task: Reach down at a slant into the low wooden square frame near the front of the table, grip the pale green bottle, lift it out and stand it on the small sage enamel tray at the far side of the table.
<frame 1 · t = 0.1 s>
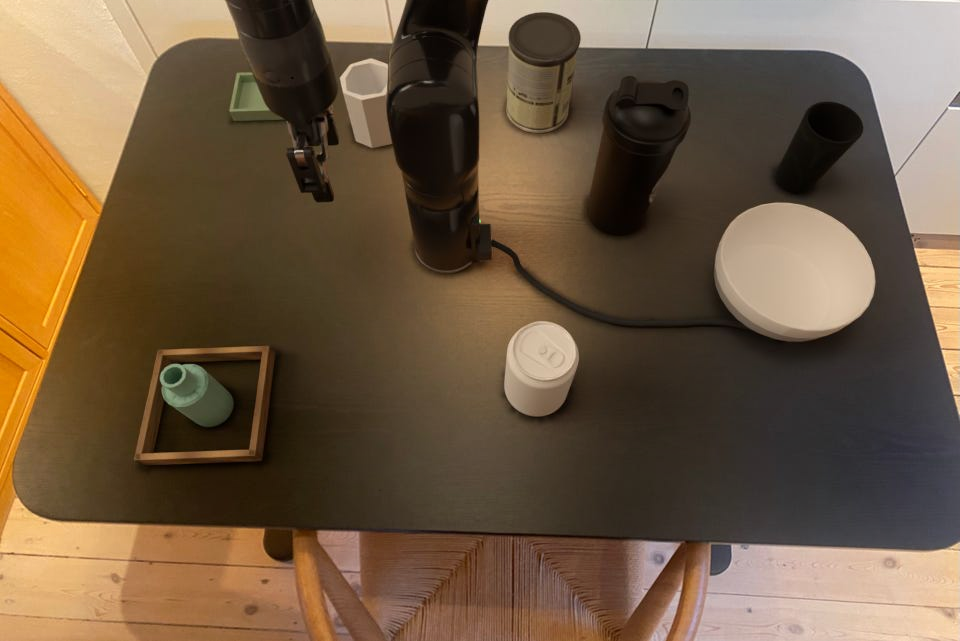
hand: (328, 170, 71), 17 cm above the table, tool pointing down, fingers open, 8 cm apart
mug: (389, 129, 97), on the table
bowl: (767, 297, 83), on the table
cup: (792, 180, 92), on the table
wooden square frame: (212, 407, 76), on the table
beverage can: (535, 388, 78), on the table
water bottle: (615, 213, 90), on the table
tray: (263, 100, 100), on the table
coffee can: (536, 111, 99), on the table
bottle: (194, 392, 71), in the wooden square frame
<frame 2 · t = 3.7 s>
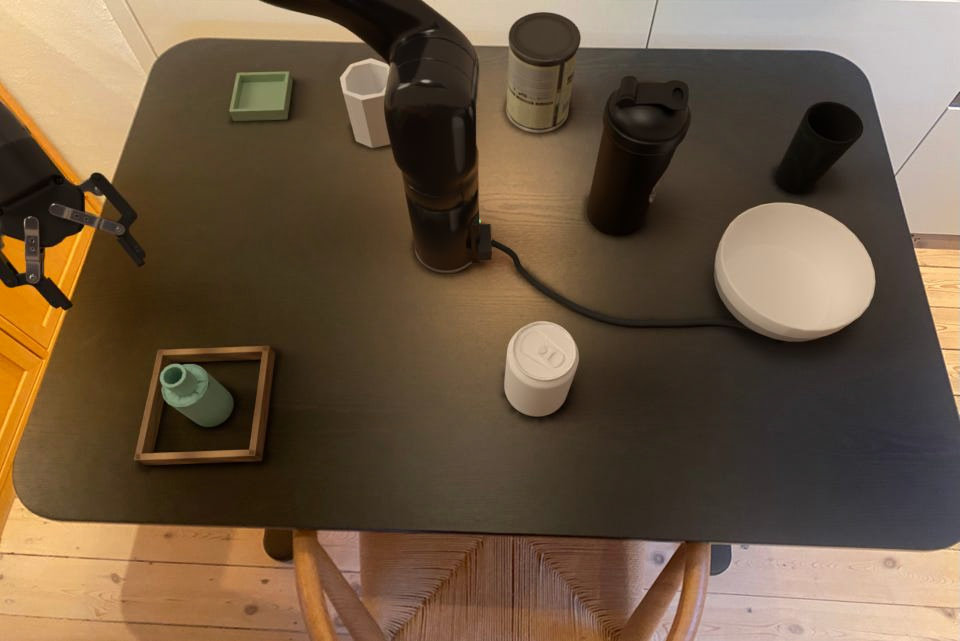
hand: (106, 286, 67), 15 cm above the table, tool tilted 45°, fingers open, 8 cm apart
nothing on the table moved.
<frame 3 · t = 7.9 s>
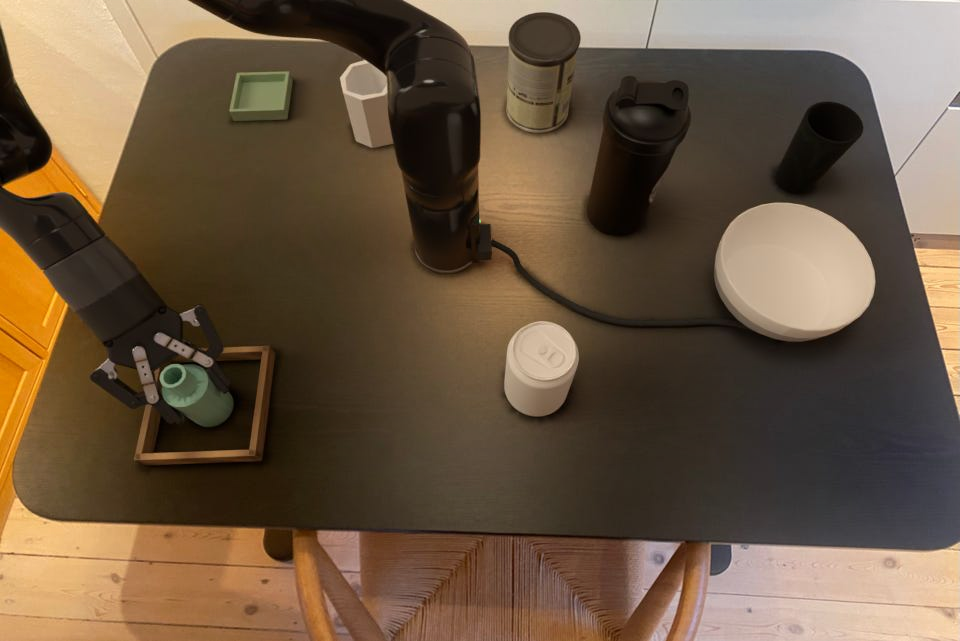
hand: (204, 405, 71), 5 cm above the table, tool tilted 45°, fingers closed on bottle, 5 cm apart
bottle: (194, 392, 71), in the wooden square frame, touching gripper
everything else where it was.
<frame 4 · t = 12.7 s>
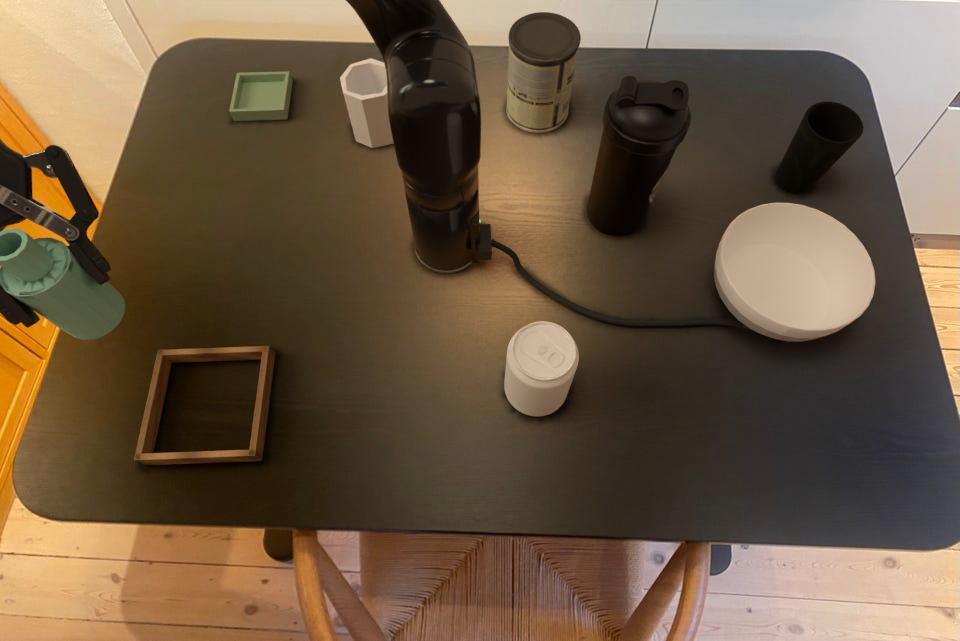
hand: (70, 301, 48), 31 cm above the table, tool tilted 45°, fingers closed on bottle, 5 cm apart
bottle: (55, 282, 48), point 31 cm above the table, touching gripper
everything else where it was.
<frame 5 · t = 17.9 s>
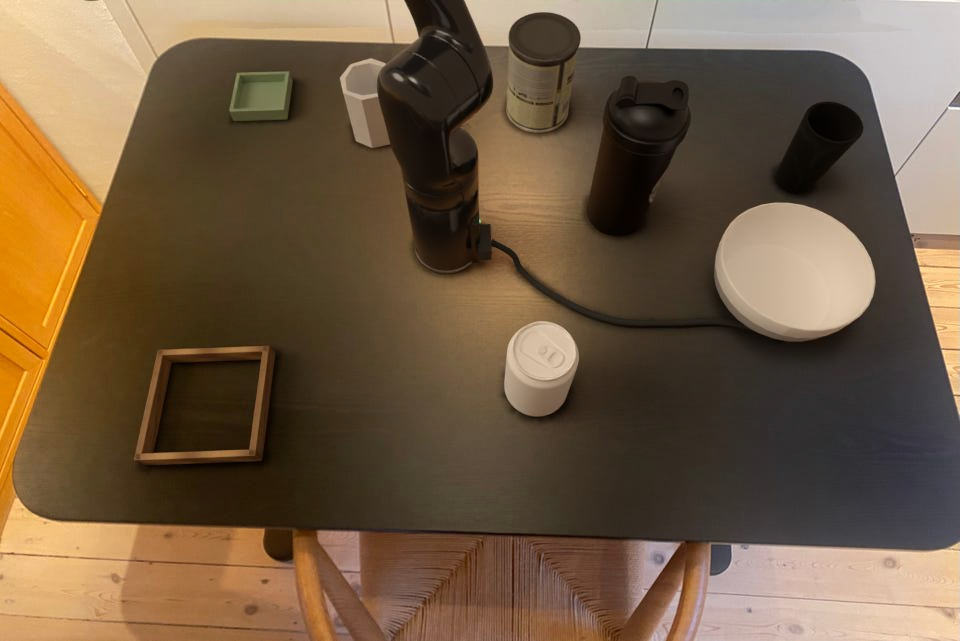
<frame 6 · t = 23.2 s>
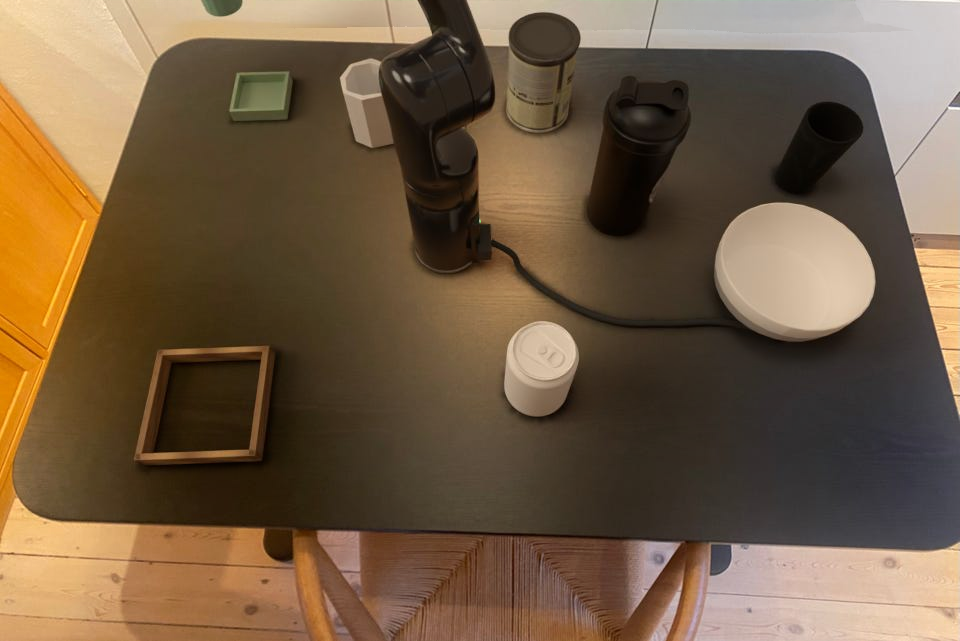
when the fingers open (5 cm above the table, at t = 28.1 s): bottle stays where it is, resting on tray.
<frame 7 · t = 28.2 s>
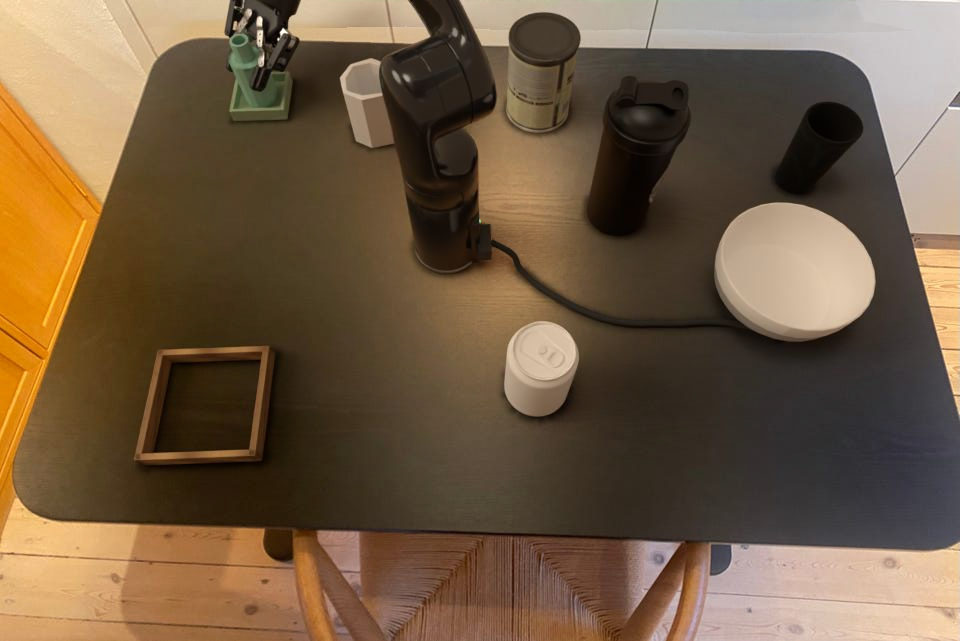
hand: (243, 80, 95), 5 cm above the table, tool tilted 45°, fingers open, 5 cm apart
bottle: (251, 70, 95), in the tray, point 6 cm above the table
everything else where it was.
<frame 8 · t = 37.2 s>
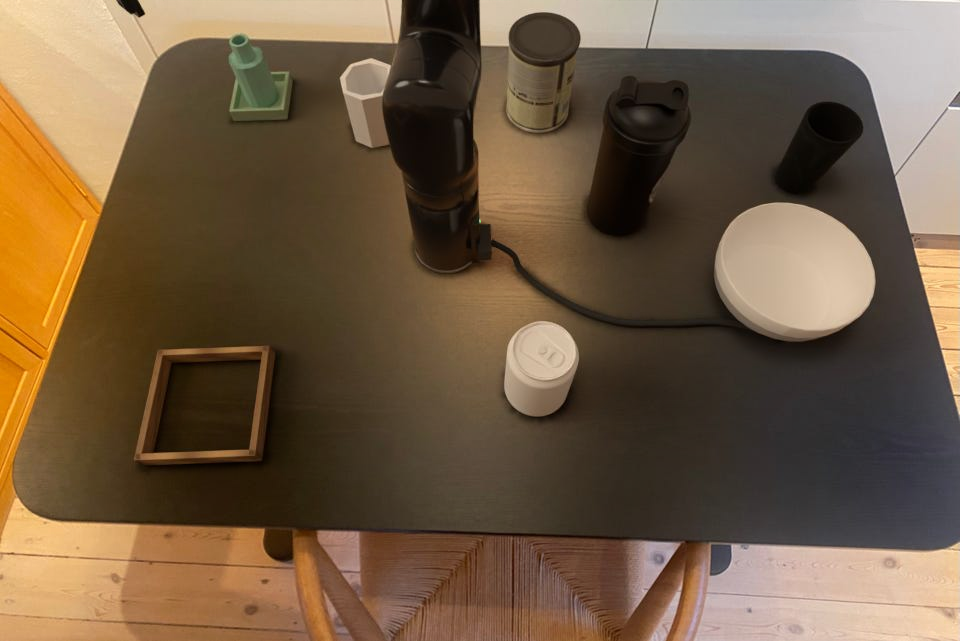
nothing on the table moved.
at the end: bottle inside the target area in the tray (0.1 cm from its centre), point 6.1 cm above the tray's base; bottle tilted 0°; the gripper is holding nothing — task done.
